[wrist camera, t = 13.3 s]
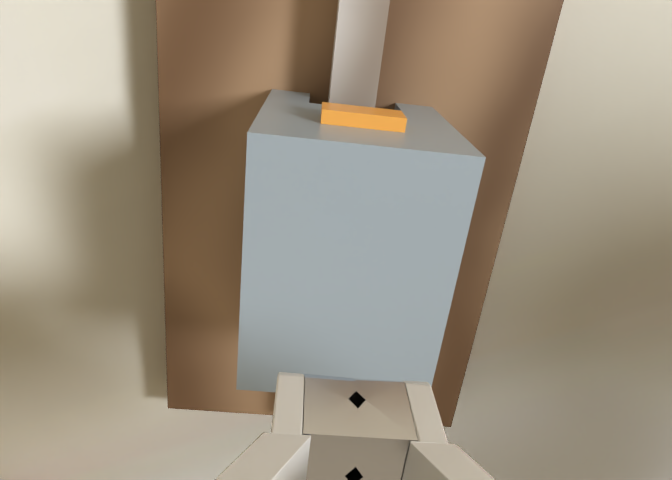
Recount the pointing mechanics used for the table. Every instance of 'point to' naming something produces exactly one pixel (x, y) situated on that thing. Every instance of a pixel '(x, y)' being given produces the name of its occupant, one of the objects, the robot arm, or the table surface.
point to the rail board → (324, 86)
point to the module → (350, 239)
